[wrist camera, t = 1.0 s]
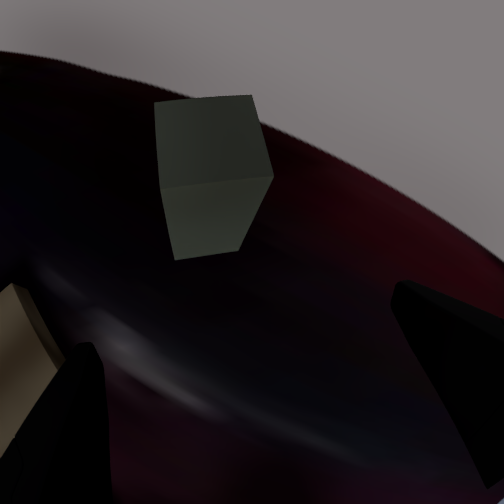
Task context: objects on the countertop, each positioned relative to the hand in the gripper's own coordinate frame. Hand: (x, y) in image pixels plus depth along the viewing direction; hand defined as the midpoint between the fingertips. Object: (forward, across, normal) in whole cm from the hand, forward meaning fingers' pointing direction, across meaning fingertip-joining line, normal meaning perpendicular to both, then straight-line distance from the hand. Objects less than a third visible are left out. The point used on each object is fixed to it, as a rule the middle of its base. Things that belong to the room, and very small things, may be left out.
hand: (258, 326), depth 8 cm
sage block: (+15, 0, +4) cm, 16 cm away
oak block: (+9, +16, +11) cm, 22 cm away
